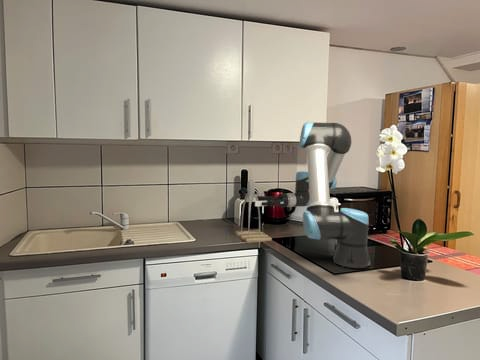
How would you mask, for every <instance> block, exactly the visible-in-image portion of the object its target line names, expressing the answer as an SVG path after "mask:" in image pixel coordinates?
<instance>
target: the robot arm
mask: <svg viewBox="0 0 480 360" xmlns="http://www.w3.org/2000/svg"><path fill="white" fill-rule="evenodd" d="M351 146H352V136H351V133H350V131H349V130H348V128H346V126H344V125H343V124H341V123H338V122H314V121H311V122H305V123H303V125H302V127H301V131H300V136H299V148H301V149H303V152H304V154H306V155H307V157H306V158H307V171H297V172H296V174H295V190H294V192H291V193H290V192H288V193H285V192H284V193H279V194H278V195H277V197H276V196H271V195H270V196H266V195H265V196H264V195H257V197H258V201H256V198H255V197H254V198H253V201H252V203H254V207H258V206H259V207H271V208H273V207H277V206H278V207H279V208H290V209H291V208H292V207H306V210H305V211H303V213H302V224H303V225H302V226H303V229H304V230H303V231H304V233H305V235H306V236H307V238H308V239H312V240H313V239H314V240H318V241H319V240H336V241H337V240H338V241H337V243H338V244H337V247H336V249H335V252H334V255H333V257H332V258H333V260H332V261H334V262H335V263H337V264H339V265H342V266H347V267H365V266H369V265H370V266H371V258H370V254H369V251H368V238H369V237H368V235H369V224H370V223H369V215H368V213H366V212H364V211H363V210H362V211H361V210H358V209H355V208H348V207H341V208H339V209H340V210H339V211H335V206H334V205H332V204H331V199H330V198H331V197H330V190H335V189H336V187H337V184H338V183H337V182H338V181H337V180H338V179H337V177H336V175H337V173H338V171H339V168H340V166H341V164H342V162H343V159H344V157H345V155H346V154H347V153H348V152H349V151H350V148H351ZM245 203H249V199H248V197H247V199H246V202H245ZM334 262H333V263H334ZM335 263H334V264H335Z"/></svg>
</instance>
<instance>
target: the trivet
mask: <svg viewBox="0 0 480 360" xmlns="http://www.w3.org/2000/svg"><path fill="white" fill-rule="evenodd" d="M234 234H235V235H236V236H237V237H239V239H241V240H243V242H245V243H247V244H248V243H260V242H261V243H262V242H272V240H273V238H272V237H271V236H269V235H268V234H266V233H265V232H264V231H261V230H260V234H259V229H249V238H248V230H242V233H241V230H236V231H235V232H234Z"/></svg>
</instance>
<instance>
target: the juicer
mask: <svg viewBox="0 0 480 360" xmlns="http://www.w3.org/2000/svg"><path fill="white" fill-rule="evenodd" d="M246 186H247V187H246V188H247V189H246V190H247V193H245V196H244V199H243V205H242V211H241V223H240V226H241V227H240V231H241V233H242V231H243V222H244V214H245V213H244V211H245V205H246V203H247V202H246V199H247V197H248V199H249V202H248V227H247V228H248V238H249V230H250V225H251V224H250V223H251V210H252V203H253V202H252V201H253V198H254V197H255V198H256V201H258V197H257V196H258V194H257V193H255V192H256V182H255V180H254V179H252V178H251V179H249V180H248V181H247V185H246ZM260 209H261V208H260V206H257V213H258V230H259V234H260V231H261V210H260Z"/></svg>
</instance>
